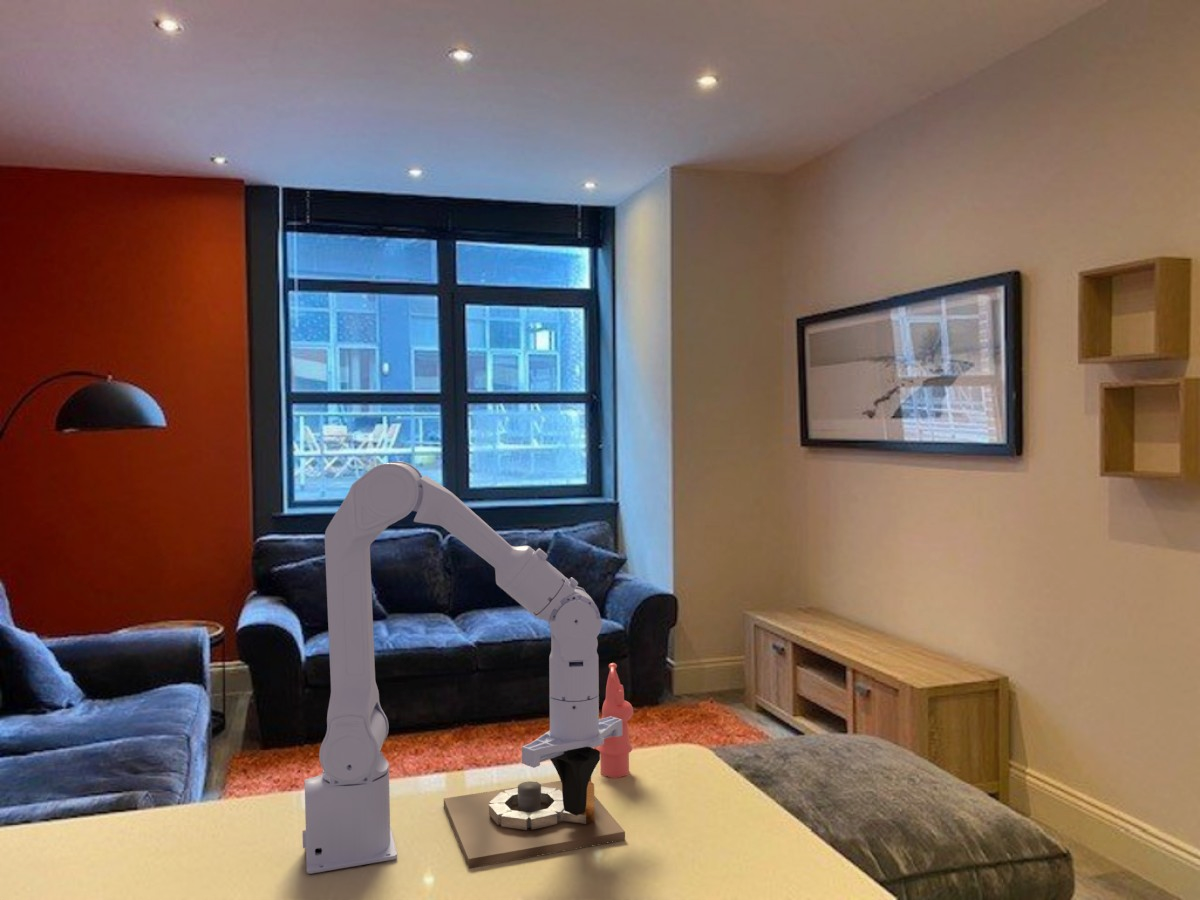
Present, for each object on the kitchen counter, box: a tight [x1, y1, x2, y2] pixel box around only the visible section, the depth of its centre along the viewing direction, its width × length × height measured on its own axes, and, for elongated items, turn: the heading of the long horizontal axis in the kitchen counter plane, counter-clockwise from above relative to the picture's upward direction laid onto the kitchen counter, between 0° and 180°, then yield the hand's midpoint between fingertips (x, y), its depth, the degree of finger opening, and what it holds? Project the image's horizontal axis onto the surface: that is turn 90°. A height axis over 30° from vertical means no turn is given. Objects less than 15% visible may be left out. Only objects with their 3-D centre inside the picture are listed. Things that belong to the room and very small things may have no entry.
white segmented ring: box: [489, 781, 595, 830], centre depth 104 cm, size 13×9×4 cm
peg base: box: [443, 777, 626, 869], centre depth 105 cm, size 18×17×5 cm
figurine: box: [596, 662, 634, 778], centre depth 120 cm, size 5×5×15 cm
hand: (574, 811), depth 101 cm, fingers closed, pressing on white segmented ring
